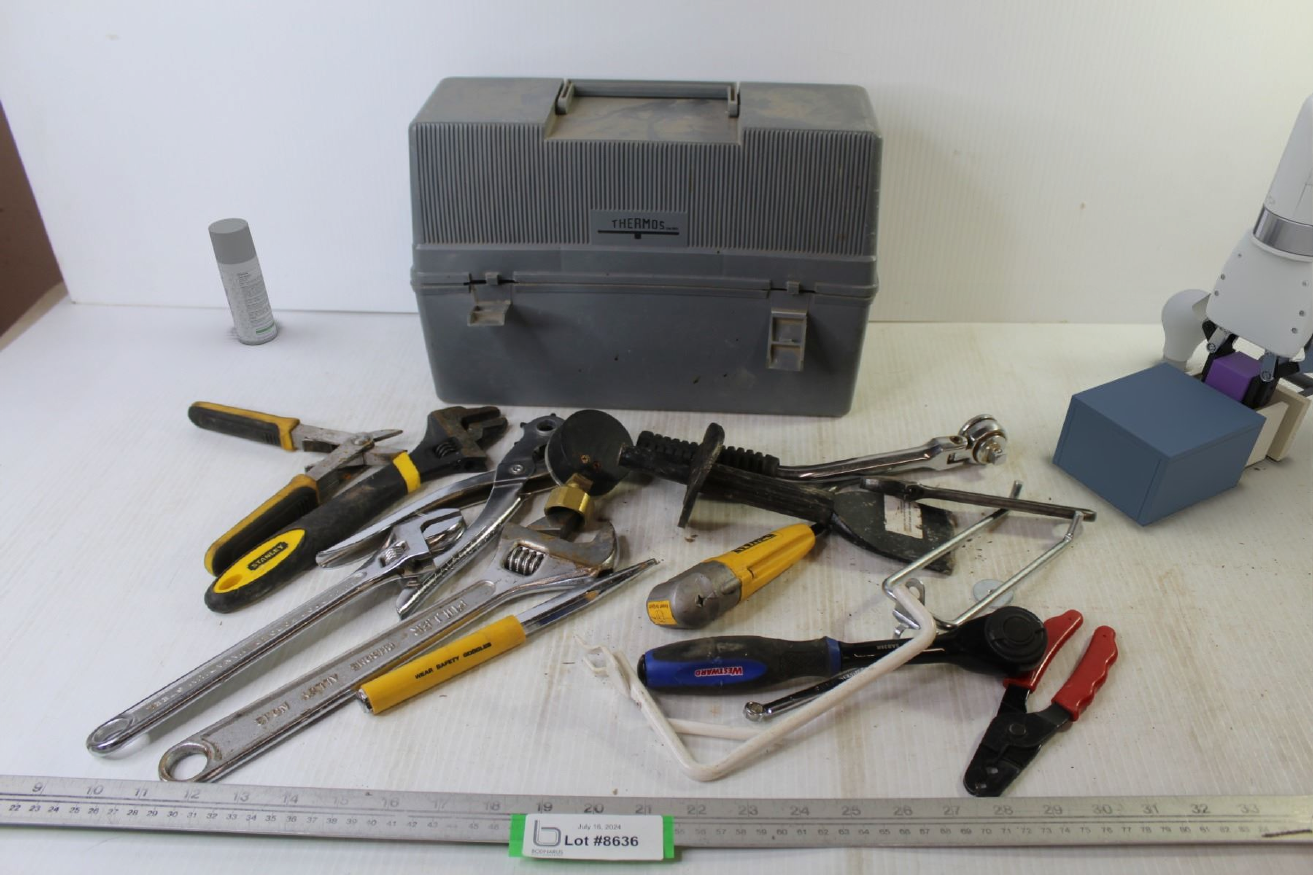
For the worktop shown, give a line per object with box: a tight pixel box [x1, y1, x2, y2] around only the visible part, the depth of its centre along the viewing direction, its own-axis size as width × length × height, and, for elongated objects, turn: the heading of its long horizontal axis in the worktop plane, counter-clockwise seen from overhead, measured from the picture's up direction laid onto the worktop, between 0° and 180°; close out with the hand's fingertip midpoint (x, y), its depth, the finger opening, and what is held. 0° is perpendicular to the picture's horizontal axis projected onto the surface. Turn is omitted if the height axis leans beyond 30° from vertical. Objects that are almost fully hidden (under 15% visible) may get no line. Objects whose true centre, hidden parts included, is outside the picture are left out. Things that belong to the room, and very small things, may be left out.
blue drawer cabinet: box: [1051, 362, 1267, 528], centre depth 97 cm, size 14×12×9 cm
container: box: [207, 217, 278, 346], centre depth 119 cm, size 5×5×15 cm
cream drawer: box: [1185, 354, 1313, 468], centre depth 102 cm, size 18×10×7 cm, turn 118°
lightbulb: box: [1160, 288, 1211, 372], centre depth 113 cm, size 6×6×11 cm
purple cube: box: [1205, 350, 1262, 403], centre depth 99 cm, size 4×4×4 cm
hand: (1231, 394), depth 100 cm, fingers closed on purple cube, 4 cm apart
